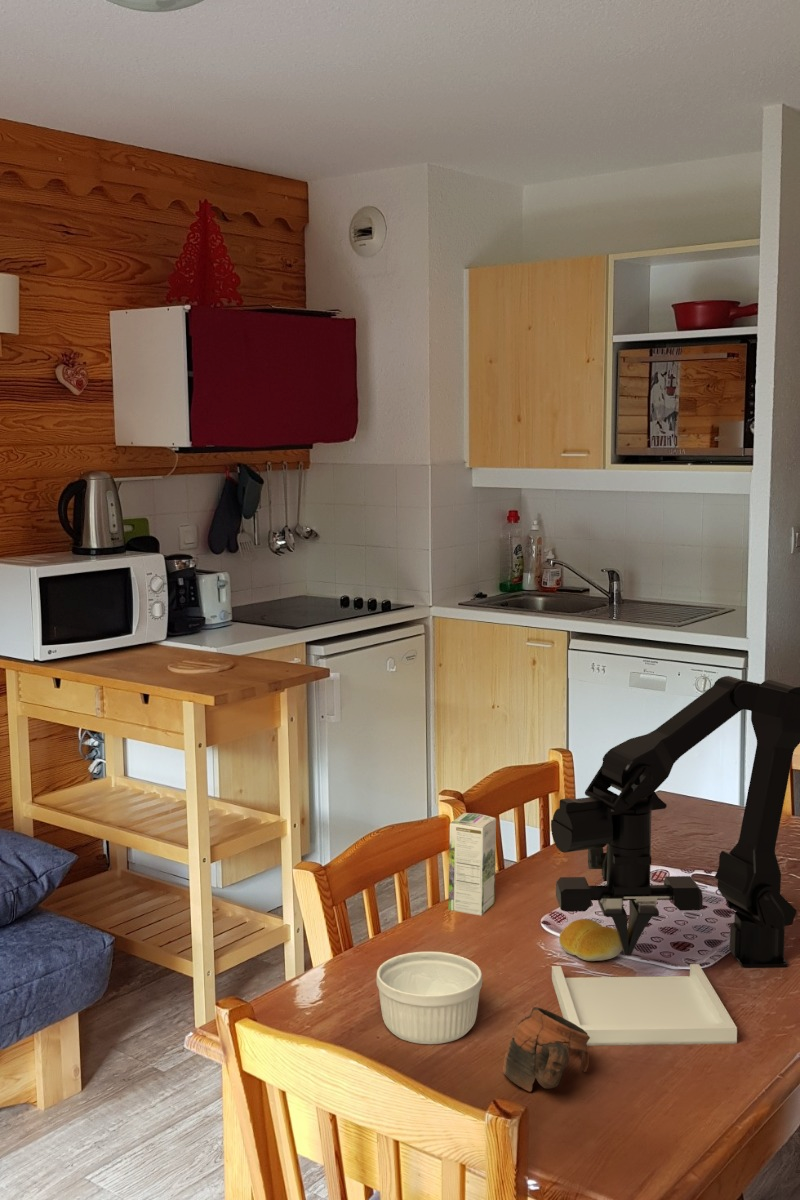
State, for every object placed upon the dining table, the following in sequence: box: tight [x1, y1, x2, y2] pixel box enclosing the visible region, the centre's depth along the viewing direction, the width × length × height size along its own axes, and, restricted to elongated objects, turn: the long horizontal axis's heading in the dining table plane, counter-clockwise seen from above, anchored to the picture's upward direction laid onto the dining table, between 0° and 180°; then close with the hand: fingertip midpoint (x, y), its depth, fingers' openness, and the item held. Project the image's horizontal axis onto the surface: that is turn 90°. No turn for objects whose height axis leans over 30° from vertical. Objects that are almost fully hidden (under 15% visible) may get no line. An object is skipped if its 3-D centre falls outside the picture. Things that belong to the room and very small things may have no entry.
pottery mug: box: [502, 1006, 590, 1093], centre depth 137 cm, size 12×9×8 cm
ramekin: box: [376, 951, 483, 1045], centre depth 150 cm, size 13×13×7 cm
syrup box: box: [448, 812, 497, 917], centre depth 188 cm, size 6×6×14 cm
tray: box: [551, 963, 738, 1047], centre depth 154 cm, size 20×18×2 cm
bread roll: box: [558, 918, 623, 962], centre depth 171 cm, size 8×9×4 cm
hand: (627, 954), depth 161 cm, fingers closed
